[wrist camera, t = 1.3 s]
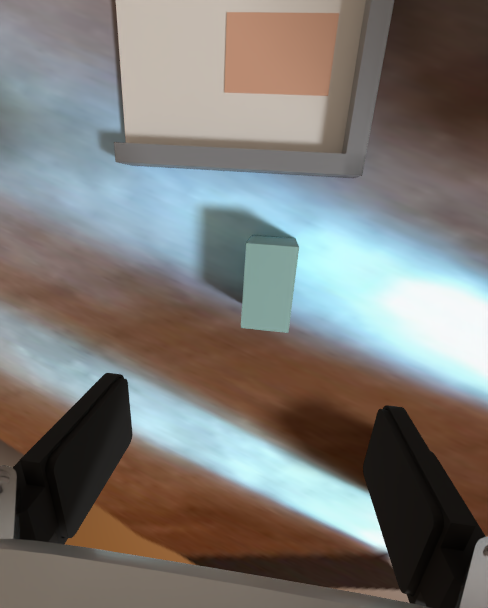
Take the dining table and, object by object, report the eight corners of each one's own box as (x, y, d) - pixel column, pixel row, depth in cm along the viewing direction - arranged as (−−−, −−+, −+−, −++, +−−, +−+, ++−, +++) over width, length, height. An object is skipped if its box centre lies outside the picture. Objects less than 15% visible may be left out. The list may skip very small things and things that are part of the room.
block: (295, 238, 30) (298, 247, 25) (286, 310, 33) (288, 332, 27) (252, 235, 31) (246, 243, 25) (247, 306, 33) (240, 327, 28)
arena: (414, -171, 20) (436, -231, 17) (353, 178, 28) (362, 175, 25) (109, -157, 22) (84, -210, 19) (131, 165, 29) (115, 161, 27)
